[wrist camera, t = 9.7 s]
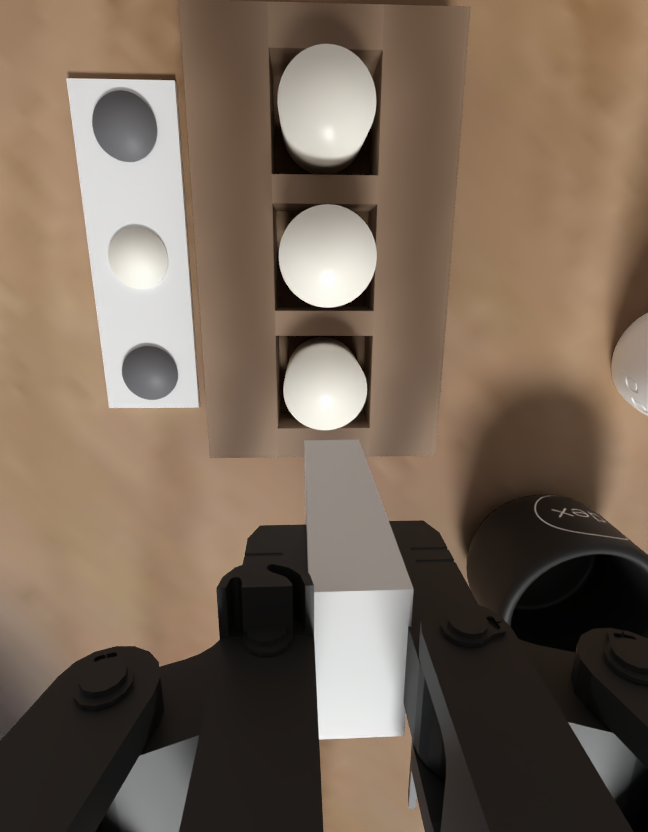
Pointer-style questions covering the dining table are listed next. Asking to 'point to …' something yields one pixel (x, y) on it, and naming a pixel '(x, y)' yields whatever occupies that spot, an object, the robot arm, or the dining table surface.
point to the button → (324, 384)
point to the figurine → (632, 364)
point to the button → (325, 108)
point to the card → (137, 238)
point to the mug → (557, 571)
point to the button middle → (327, 255)
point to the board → (376, 193)
